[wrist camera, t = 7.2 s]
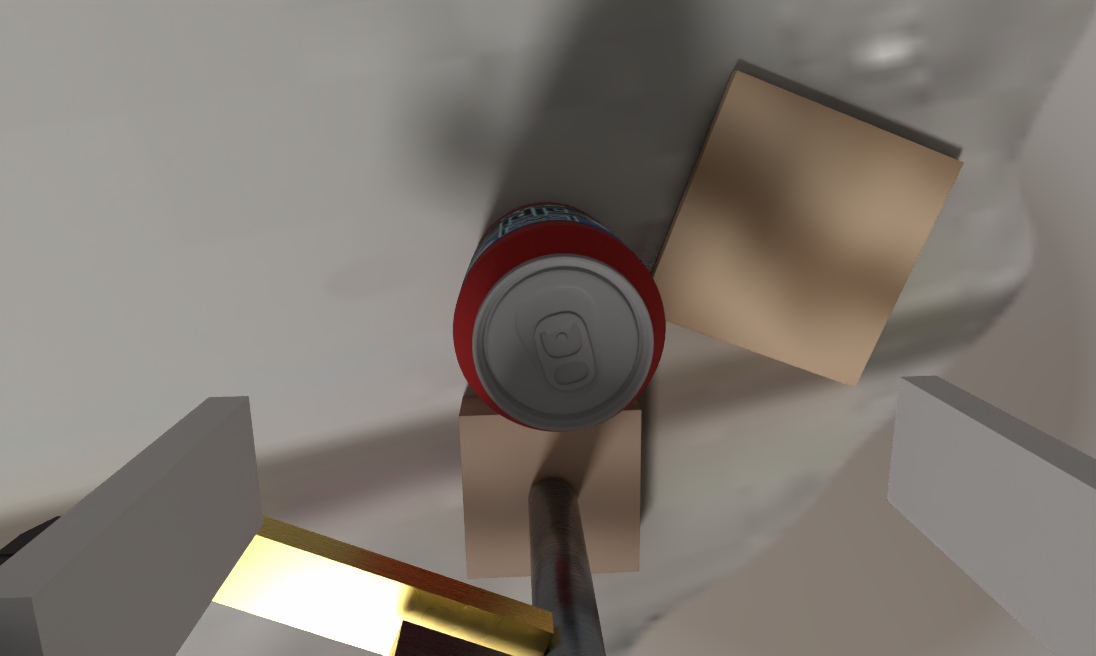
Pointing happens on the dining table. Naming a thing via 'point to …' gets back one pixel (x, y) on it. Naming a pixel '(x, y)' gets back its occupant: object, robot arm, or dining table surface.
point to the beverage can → (557, 320)
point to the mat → (798, 229)
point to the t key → (425, 591)
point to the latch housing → (532, 455)
